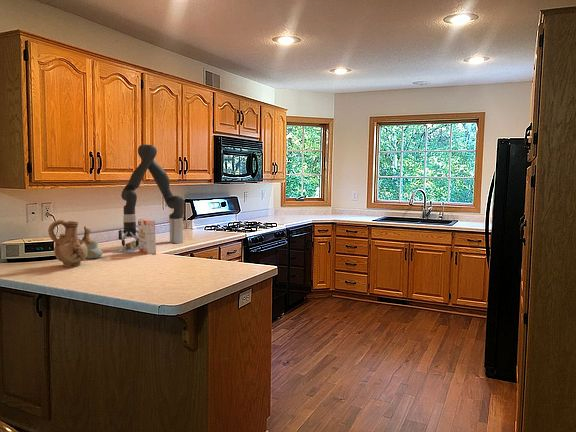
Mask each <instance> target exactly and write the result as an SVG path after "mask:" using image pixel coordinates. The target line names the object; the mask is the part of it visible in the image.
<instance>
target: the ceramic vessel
mask: <svg viewBox="0 0 576 432" xmlns="http://www.w3.org/2000/svg"><path fill="white" fill-rule="evenodd" d="M59 225H60V226H61V225H62V226H63V227H64V229H65V231H64V233H59V237H56V234H55V232H54V229H55V228H56V227H57V226H59ZM78 226H79V222H78V221H73V220H70V221H66V220H64V219H58V220H55V221H53V222H52V223H51V224H50V225H49V226H48V229H47V230H48V236H49V238H50V239H51V240H52V241H53V242H54V244H55V245H54V247H53V253H54V255H55V258H56V259H57V260H58V261H59V262H62V265H63V266H62V267H65V268H75V266H76V267H79V266H81V265H82V263H81V261H84V260H85V259H87V258H86V257H87V254H88V253H87V245H89V244H92V243H94V241H95V240H92V239H91V238H90V234H91V232H92V231H91V229H90V228H87V227H86V225H85V226H84V227H83V229H84V235H83V237H82V238H81V239H80V238H79V237H78Z"/></svg>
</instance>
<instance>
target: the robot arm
mask: <svg viewBox="0 0 576 432" xmlns="http://www.w3.org/2000/svg"><path fill="white" fill-rule="evenodd" d="M157 151H158V150H157V148H156V146H155V145H153V144H141V145H139V146H138V148H137V154H138V156H139V158H140V159H141V162H140V163H139V165H137V167H136V168H135V169H134V170H133V172H132V173H131V175H130V177H129V180H128V182H127V184H126V185H125V186H124V188H123V189H122V191H121V199H122V200H123V201H125V204H124V205H123V220H122V222H123V230H122V229H119V230H118V240H121V245H122V247H126V240H125V239H126V238H129V237H130V238H133V239H134V241H136V246H139V235H138V230H137V217H136V205H137V200H138V199H137V198H138V196H137V193H136V191H135V190H136V189H138V188H139V187H140V185H141V183H142V180H143V178H144V176H145V174H146V172H147V171H148V172H149V173H150V174H151V176H152V178H153V180H154V182H155V184H156V186H157V187H158V189H159V192H160V193H161V195H162V198H163V200H164V201H165V203H166V206H167V208H169V209H173V211H172V213H170V214H169V215H168V216H169V217H168V219H169V221H168V223H169V243H172V244H181V243H184V226H183V225H184V222H183V217H184V211H185V207H184V206H185V201H184V198H183V197H182V196H181V195H174V194H173V193H172V191H171V188H170V183H171V182H170V181H171V180H170V177H169V176H168V174H167V172H166V170H165V169H164V168H163V167H162V166H161V165H160V164H158V162H157V161H156V160H155V158H156V157H157Z"/></svg>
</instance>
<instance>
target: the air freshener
mask: <svg viewBox="0 0 576 432" xmlns="http://www.w3.org/2000/svg"><path fill="white" fill-rule="evenodd" d="M93 241H94V243H92V244H89V245H87V253H88V254H87V257H86V258H85V259H87V260H96V259H99V258H101V256H102V255H103V253H104V252H103V250H102V249H101V248H99V246H98V245H99V244H98V243H99V241H97V240H93Z"/></svg>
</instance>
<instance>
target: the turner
mask: <svg viewBox="0 0 576 432" xmlns="http://www.w3.org/2000/svg"><path fill="white" fill-rule="evenodd" d="M125 247H126V249H122V248H120V249H121V250H120V249H118V252H129V251H132V249H133V248H135V247H137V246H136V240H131V241H130V242H127V243H126V242H125Z"/></svg>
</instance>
